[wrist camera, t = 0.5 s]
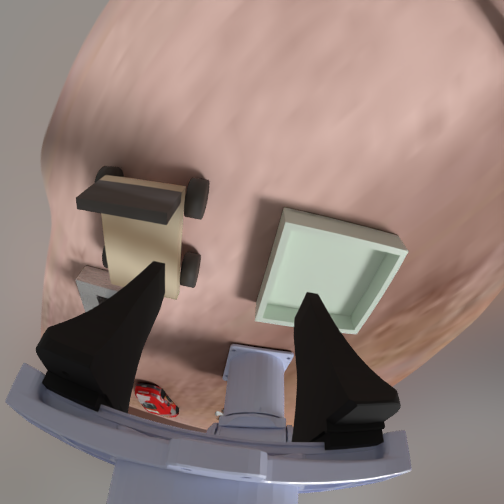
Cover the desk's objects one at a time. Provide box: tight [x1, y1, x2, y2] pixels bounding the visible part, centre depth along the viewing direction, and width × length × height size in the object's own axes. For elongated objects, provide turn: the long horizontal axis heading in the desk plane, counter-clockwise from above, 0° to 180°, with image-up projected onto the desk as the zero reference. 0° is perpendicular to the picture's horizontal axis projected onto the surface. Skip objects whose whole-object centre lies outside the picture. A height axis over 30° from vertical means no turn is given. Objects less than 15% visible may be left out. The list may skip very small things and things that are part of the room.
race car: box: [135, 383, 179, 417], centre depth 44 cm, size 13×5×4 cm, turn 5°
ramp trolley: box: [76, 166, 209, 300], centre depth 20 cm, size 10×9×7 cm
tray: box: [255, 207, 408, 334], centre depth 24 cm, size 11×11×2 cm
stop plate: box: [75, 265, 123, 312], centre depth 28 cm, size 6×8×2 cm
